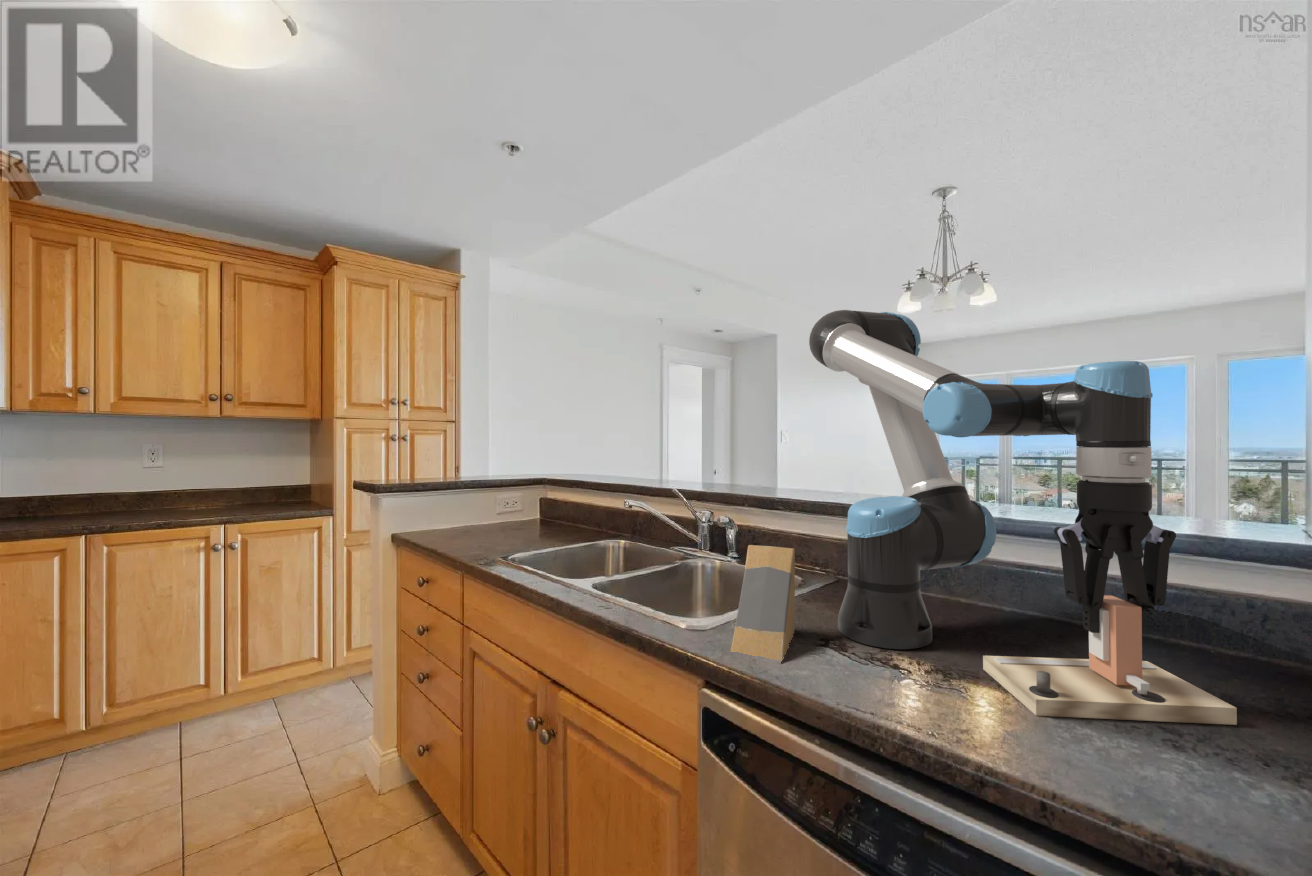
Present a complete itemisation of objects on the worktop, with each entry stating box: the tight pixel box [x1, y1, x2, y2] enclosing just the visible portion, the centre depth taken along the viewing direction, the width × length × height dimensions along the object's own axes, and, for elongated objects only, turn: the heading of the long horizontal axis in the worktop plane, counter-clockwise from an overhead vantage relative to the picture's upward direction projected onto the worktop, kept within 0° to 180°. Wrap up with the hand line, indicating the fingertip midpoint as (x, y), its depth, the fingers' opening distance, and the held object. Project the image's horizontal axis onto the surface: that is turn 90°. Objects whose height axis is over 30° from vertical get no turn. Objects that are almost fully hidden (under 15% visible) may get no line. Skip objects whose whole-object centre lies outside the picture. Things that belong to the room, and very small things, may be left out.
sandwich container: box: [730, 544, 796, 661], centre depth 88 cm, size 9×15×15 cm, turn 158°
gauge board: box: [982, 655, 1238, 726], centre depth 70 cm, size 22×13×4 cm, turn 83°
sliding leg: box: [1088, 594, 1150, 695], centre depth 68 cm, size 3×8×10 cm, turn 173°
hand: (1114, 656), depth 70 cm, fingers closed on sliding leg, 3 cm apart
